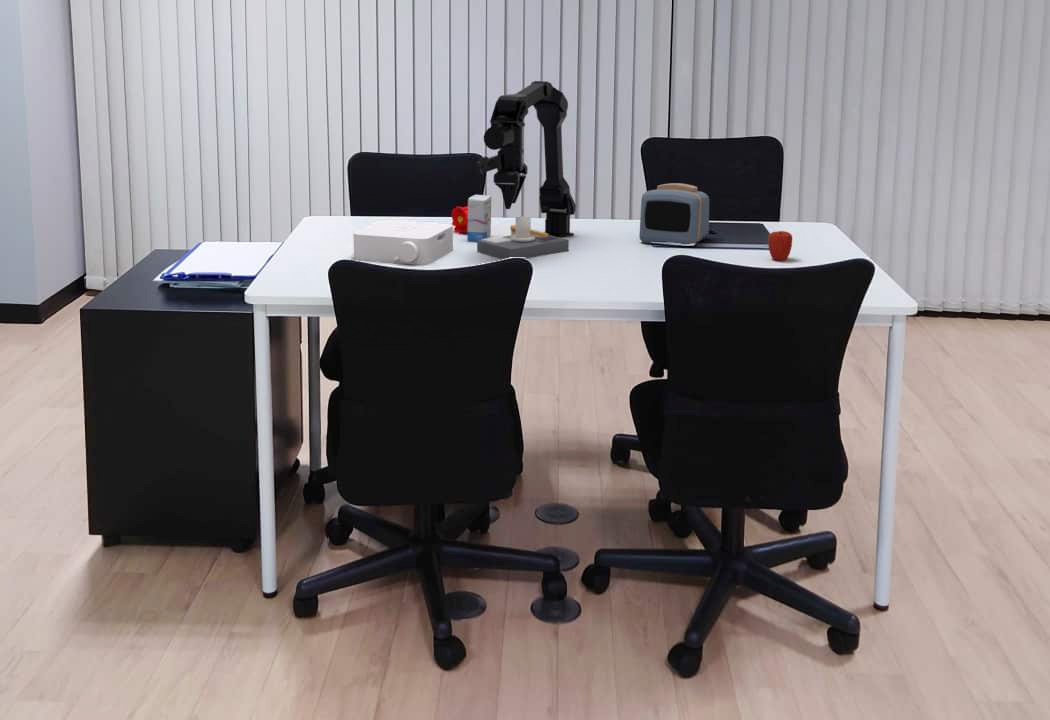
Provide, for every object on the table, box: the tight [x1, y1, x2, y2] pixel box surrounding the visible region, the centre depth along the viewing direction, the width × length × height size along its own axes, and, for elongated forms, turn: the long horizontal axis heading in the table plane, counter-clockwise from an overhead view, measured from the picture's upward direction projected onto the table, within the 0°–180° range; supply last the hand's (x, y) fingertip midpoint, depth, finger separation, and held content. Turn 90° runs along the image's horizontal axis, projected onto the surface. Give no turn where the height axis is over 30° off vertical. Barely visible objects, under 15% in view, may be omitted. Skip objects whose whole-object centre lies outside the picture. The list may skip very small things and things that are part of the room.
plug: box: [511, 216, 535, 243], centre depth 361 cm, size 6×6×9 cm
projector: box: [352, 219, 454, 266], centre depth 357 cm, size 21×22×7 cm
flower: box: [451, 205, 468, 234], centre depth 387 cm, size 8×8×8 cm
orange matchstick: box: [510, 224, 548, 237], centre depth 364 cm, size 14×2×1 cm, turn 40°
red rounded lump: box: [767, 230, 793, 262], centre depth 354 cm, size 6×6×8 cm
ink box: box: [467, 194, 492, 243], centre depth 376 cm, size 9×5×12 cm, turn 168°
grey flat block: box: [476, 229, 570, 260], centre depth 362 cm, size 20×15×4 cm
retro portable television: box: [639, 182, 710, 245], centre depth 375 cm, size 16×16×16 cm
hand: (510, 206), depth 353 cm, fingers open, 9 cm apart
